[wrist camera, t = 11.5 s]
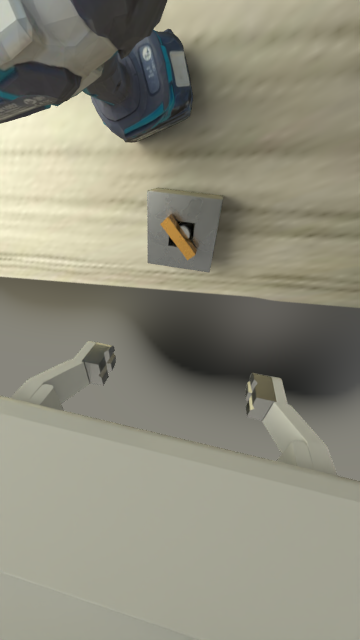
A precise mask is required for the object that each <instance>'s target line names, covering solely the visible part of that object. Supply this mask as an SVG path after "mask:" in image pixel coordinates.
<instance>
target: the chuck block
mask: <svg viewBox="0 0 360 640" xmlns="http://www.w3.org/2000/svg"><path fill="white" fill-rule="evenodd" d="M147 201H148V263H151V264H158V265H164V266H171V267H178V268H184V269H191V270H197V271H204V272H210V267H211V262H212V256H213V251H214V245H215V240H216V234H217V229H218V223H219V218H220V212H221V207H222V201H223V196H222V195H214V194H205V193H197V192H188V191H180V190H172V189H163V188H155V189H151V190H148V191H147ZM170 215H172V216H173V217H174V219H175V220H176V221H182V222H189V223H195V227H194V235H193V239H189V240H190V241H191V242H192V244H193V245H194V247H195V248H196V249H197V252H196V255H194V256H193V257H192V258H190V259H189V260H187V259H186V258H185V256H184V255H183V254H182V252H181V251H180V250H179V248H178V247H177V246H176V244H175V243H174V242H173V240H172V239H171V238H170V236H169V235H168V234H167V232H166V231H165V230H164V228H163V227H162V226H161V225H160V224H161V223H162V222H163V221H164V220H165V219H166V218H167V217H169V216H170Z"/></svg>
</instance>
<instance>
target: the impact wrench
mask: <svg viewBox="0 0 360 640" xmlns="http://www.w3.org/2000/svg"><path fill="white" fill-rule="evenodd" d="M166 3H167V0H0V124H1V123H4V122H8V121H12V120H15V119H18V118H21V117H26V116H28V115H31V114H33V113H36V112H39V111H42V110H45V109H48V108H50V107H51V105H55V106H59V105H60V104H61V103H63V102H65V101H67V100H69V99H70V98H72V97H74V96H76V95H78V94H79V93H80V92H81V91H83V92H84V93H86V94H88V95H90V96H91V99H92V103H93V104H94V106H95V108H96V111H97V113H98V114H99V116H100V117H101V119H102V121H103V123H104V124H105V125H106V126H107V127H108V128H109V129H110V130H111V131H112V132H113V133H115V134H116V135H117V136H119V137H120V138H122V139H124V141H125V142H137V141H139V140H142V139H144V138H146V137H148V136H150V135H152V134H155V133H157V132H159V131H161V130H164V129H166V128H168V127H170V126H172V125H174V124H176V123H178V122H180V121H182V120H184V119H186V118H188V117H189V116H190V110H191V109H192V101H193V94H192V88H191V82H190V76H189V71H188V66H187V62H186V57H185V54H184V49H183V45H182V43H181V41H180V40H179V38H178V37H176V36H175V35H174V34H173V32H172V31H171V29H167V30H166V31H164V32H157V31H155V30H153V29H154V27H155V26H156V25H157V24H158V23H159V22H160V19H161V17H162V14H163V11H164V8H165V6H166Z"/></svg>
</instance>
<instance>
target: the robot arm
mask: <svg viewBox="0 0 360 640" xmlns="http://www.w3.org/2000/svg"><path fill="white" fill-rule="evenodd" d="M114 351H115V349H114V346H111V345H106V344H101V343H98V342H93V341H89V342H87V343H86V344H85V345H84V347H83V348H82V349H81V350H80V351H79V353H78V354H77V355H76V356H75V357H74V359H73V360H71V359H70V360H68V361H66V362H64V363H61V364H59V365H57V366H55V367H53V368H51V369H49V370H47V371H44V372H42V373H40V374H38V375H36V376H34V377H32V378H30V379H28V380H27V381H26V382H25V383H24V384H23V385H22V386H21V387H20V388H19V389H18V390H17V391H16V393H15V394H14V395H13V396H12V397H11V398H8V397H4V396H0V640H360V481H357V480H353V479H349V478H345V477H340V476H337V473H336V470H335V467H334V464H333V462H332V459H331V456H330V453H329V450H328V447H327V446H326V445H325V443H323V441H322V440H321V439H320V438H319V437H318V436H317V435H316V433H315V432H314V431H313V430H312V429H311V428H310V427H309V425H308V424H307V423H306V422H305V421H304V420H303V419H302V418H301V416H300V415H299V414H298V413H297V412H296V411H295V410H294V408H293V407H292V406H291V405H288V403H287V399H286V395H285V392H284V387H283V383H282V380H281V379H280V378H275V377H270V376H265V375H260V374H255V373H252V374H251V376H250V382H248V383H247V386H246V390H245V399H246V400H247V402H248V403H247V405H246V414H247V417H248V418H252V419H256V420H261V421H263V423H264V425H265V427H266V428H267V430H268V432H269V433H270V435H271V437H272V438H273V440H274V442H275V443H276V445H277V447H278V448H279V450H280V452H281V453H282V454H281V456H280V457H279V458H278V459H277V460H276V461H273V460H269V459H265V458H260V457H256V456H252V455H248V454H244V453H239V452H235V451H231V450H227V449H223V448H218V447H214V446H210V445H206V444H202V443H197V442H193V441H189V440H185V439H181V438H176V437H172V436H168V435H163V434H159V433H155V432H151V431H147V430H143V429H138V428H134V427H130V426H126V425H121V424H117V423H113V422H109V421H105V420H100V419H96V418H92V417H88V416H84V415H79V414H75V413H71V412H67V411H64V410H63V407H62V405H61V404H62V403H63V402H65V401H66V400H68V399H69V398H70V397H72V396H73V395H75V394H76V393H77V392H79V391H80V390H82V389H83V388H85V387H86V386H87V385H89V384H90V383H92V384H97V385H104V384H105V382H106V380H107V378H108V377H109V376H108V373H109V372H111V371H112V370H113V368H114V366H115V363H116V356H115V355H114Z"/></svg>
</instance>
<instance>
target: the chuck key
mask: <svg viewBox="0 0 360 640" xmlns="http://www.w3.org/2000/svg"><path fill="white" fill-rule="evenodd" d="M160 225H161V226H162V227H163V228H164V230H165V231H166V232H167V234H168V235H169V236H170V238H171V239H172V240H173V242H174V243H175V244H176V246H177V247H178V248H179V250H180V251H181V252H182V254H183V255H184V256H185V258H186V259H187V260H189V259H190V258H192V257H193V256H194V255H196V252H197V249H196V248H195V247H194V245H193V244H192V242H191V241H190V240H189V237H190V235H191V233H192V231H193V229H194V225H193V223H189V222H182V221H181V222H180V224H178V223H177V222H176V220H175V219H174V217H173V216H172V215H170V216H169V217H167V218H166V219H165V220H164V221H163V222H162V223H161V224H160Z"/></svg>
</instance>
